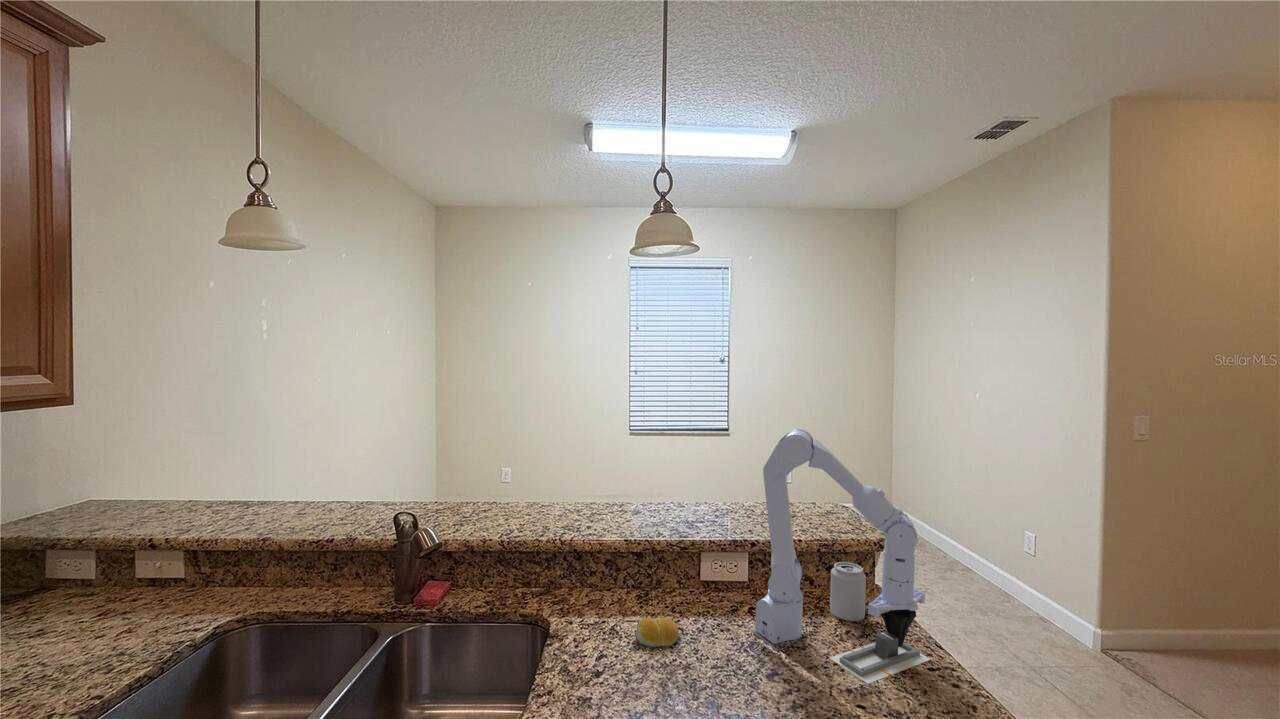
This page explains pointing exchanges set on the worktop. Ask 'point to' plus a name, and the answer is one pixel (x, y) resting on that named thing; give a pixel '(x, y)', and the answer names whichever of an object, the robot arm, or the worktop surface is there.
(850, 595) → the can
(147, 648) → the worktop surface
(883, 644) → the fader
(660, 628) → the bread roll
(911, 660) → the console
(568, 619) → the worktop surface
